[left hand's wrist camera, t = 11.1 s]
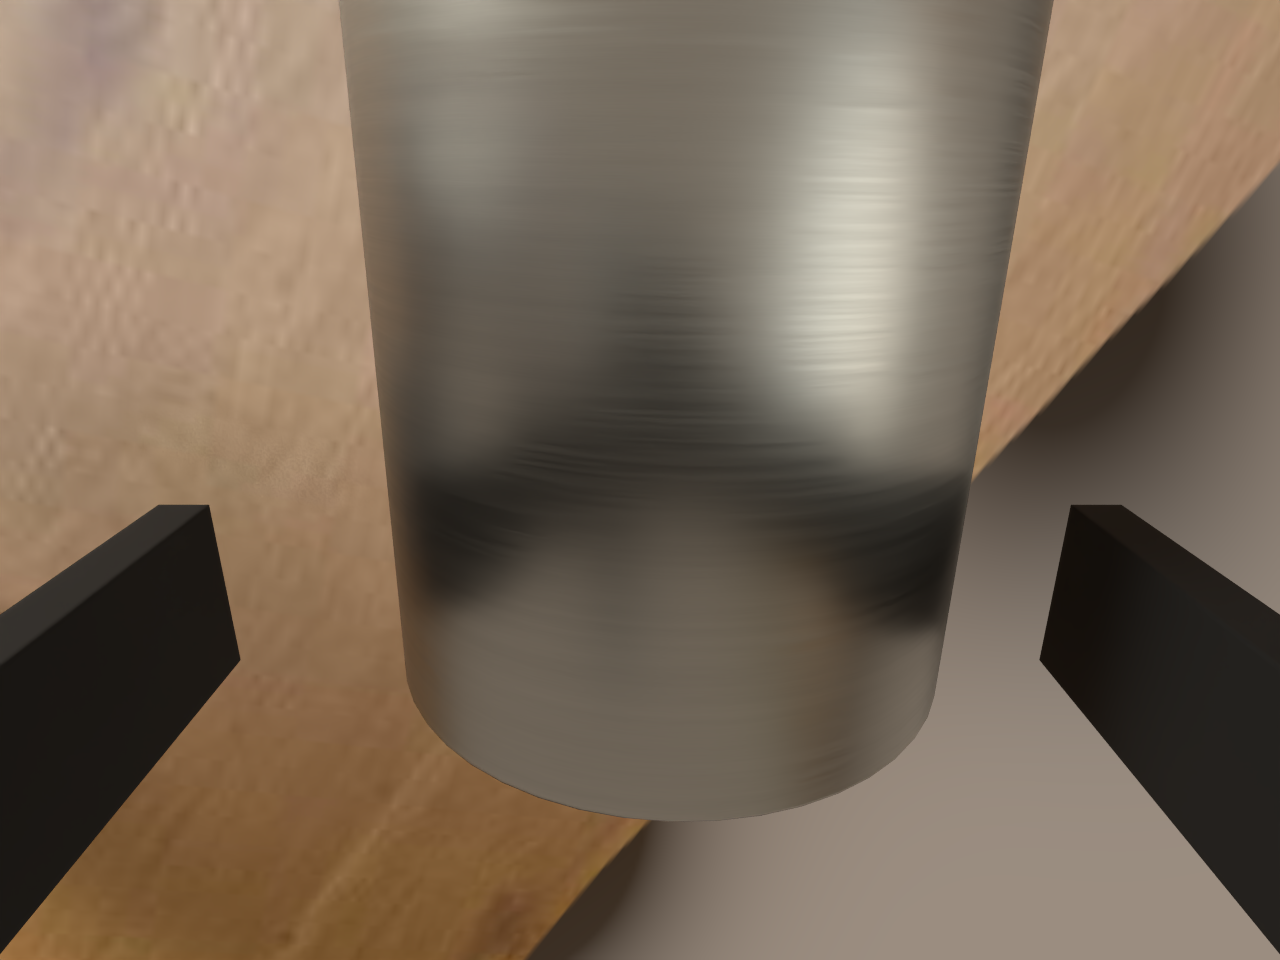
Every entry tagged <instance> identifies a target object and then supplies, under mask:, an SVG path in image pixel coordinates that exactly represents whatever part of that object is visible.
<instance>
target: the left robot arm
mask: <svg viewBox="0 0 1280 960" xmlns="http://www.w3.org/2000/svg"><path fill="white" fill-rule="evenodd" d="M239 661H240V655H239V650H238V645H237V640H236V635H235V630H234V626H233V621H232V616H231V611H230V606H229V601H228V596H227V591H226V586H225V581H224V576H223V571H222V567H221V562H220V557H219V552H218V547H217V542H216V537H215V532H214V527H213V522H212V517H211V512H210V508H209V505H158V506H156V507H155V508H153V509H152V510H151V511H149V512H148V513H146V514H145V515H143V516H142V517H140V518H139V519H138V520H136V521H135V522H133V523H132V524H130V525H129V526H127V527H126V528H125V529H123V530H122V531H120V532H119V533H117V534H116V535H114V536H113V537H112V538H110V539H109V540H107V541H106V542H104V543H103V544H102V545H100V546H99V547H97V548H96V549H94V550H93V551H91V552H90V553H89V554H87V555H86V556H84V557H83V558H81V559H80V560H78V561H77V562H76V563H74V564H73V565H71V566H70V567H68V568H67V569H65V570H64V571H63V572H61V573H60V574H58V575H57V576H55V577H54V578H52V579H51V580H50V581H48V582H47V583H45V584H44V585H42V586H41V587H39V588H38V589H37V590H35V591H34V592H32V593H31V594H29V595H28V596H26V597H25V598H24V599H22V600H21V601H19V602H18V603H16V604H15V605H13V606H12V607H11V608H9V609H8V610H6V611H5V612H3V613H2V614H1V615H0V954H1V952H2V951H3V950H4V949H5V947H6V946H7V945H8V944H9V943H10V941H11V940H12V939H13V938H14V936H15V935H16V934H17V933H18V932H19V930H20V929H21V928H22V927H23V925H24V924H25V923H26V922H27V921H28V919H29V918H30V917H31V916H32V914H33V913H34V912H35V911H36V910H37V908H38V907H39V906H40V905H41V903H42V902H43V901H44V900H45V899H46V897H47V896H48V895H49V894H50V892H51V891H52V890H53V889H54V888H55V886H56V885H57V884H58V883H59V881H60V880H61V879H62V878H63V877H64V875H65V874H66V873H67V872H68V870H69V869H70V868H71V867H72V866H73V864H74V863H75V862H76V861H77V859H78V858H79V857H80V856H81V855H82V853H83V852H84V851H85V850H86V848H87V847H88V846H89V845H90V844H91V842H92V841H93V840H94V839H95V837H96V836H97V835H98V834H99V833H100V831H101V830H102V829H103V828H104V826H105V825H106V824H107V823H108V821H109V820H110V819H111V818H112V817H113V815H114V814H115V813H116V812H117V810H118V809H119V808H120V807H121V806H122V804H123V803H124V802H125V801H126V799H127V798H128V797H129V796H130V795H131V793H132V792H133V791H134V790H135V788H136V787H137V786H138V785H139V784H140V782H141V781H142V780H143V779H144V777H145V776H146V775H147V774H148V773H149V771H150V770H151V769H152V768H153V766H154V765H155V764H156V763H157V762H158V760H159V759H160V758H161V757H162V755H163V754H164V753H165V752H166V751H167V749H168V748H169V747H170V746H171V744H172V743H173V742H174V741H175V740H176V738H177V737H178V736H179V735H180V733H181V732H182V731H183V730H184V729H185V727H186V726H187V725H188V724H189V722H190V721H191V720H192V719H193V718H194V716H195V715H196V714H197V713H198V711H199V710H200V709H201V708H202V706H203V705H204V704H205V703H206V702H207V700H208V699H209V698H210V697H211V695H212V694H213V693H214V692H215V691H216V689H217V688H218V687H219V686H220V684H221V683H222V682H223V681H224V680H225V678H226V677H227V676H228V675H229V673H230V672H231V671H232V670H233V669H234V667H235V666H236V665H237V664H238V662H239ZM1040 661H1041V662H1042V664H1043V665H1044V666H1045V667H1046V669H1047V670H1048V671H1049V672H1050V673H1051V675H1052V676H1053V677H1054V678H1055V680H1056V681H1057V682H1058V683H1059V684H1060V686H1061V687H1062V688H1063V689H1064V691H1065V692H1066V693H1067V694H1068V695H1069V697H1070V698H1071V699H1072V700H1073V702H1074V703H1075V704H1076V705H1077V707H1078V708H1079V709H1080V710H1081V711H1082V713H1083V714H1084V715H1085V716H1086V717H1087V719H1088V720H1089V721H1090V722H1091V724H1092V725H1093V726H1094V727H1095V728H1096V730H1097V731H1098V732H1099V733H1100V735H1101V736H1102V737H1103V738H1104V740H1105V741H1106V742H1107V743H1108V744H1109V746H1110V747H1111V748H1112V749H1113V751H1114V752H1115V753H1116V754H1117V755H1118V757H1119V758H1120V759H1121V760H1122V762H1123V763H1124V764H1125V765H1126V766H1127V768H1128V769H1129V770H1130V771H1131V773H1132V774H1133V775H1134V776H1135V777H1136V779H1137V780H1138V781H1139V782H1140V784H1141V785H1142V786H1143V787H1144V788H1145V790H1146V791H1147V792H1148V793H1149V795H1150V796H1151V797H1152V798H1153V799H1154V801H1155V802H1156V803H1157V804H1158V806H1159V807H1160V808H1161V809H1162V810H1163V812H1164V813H1165V814H1166V815H1167V817H1168V818H1169V819H1170V820H1171V821H1172V823H1173V824H1174V825H1175V826H1176V828H1177V829H1178V830H1179V831H1180V833H1181V834H1182V835H1183V836H1184V837H1185V839H1186V840H1187V841H1188V842H1189V843H1190V845H1191V846H1192V847H1193V848H1194V850H1195V851H1196V852H1197V853H1198V855H1199V856H1200V857H1201V858H1202V859H1203V861H1204V862H1205V863H1206V864H1207V866H1208V867H1209V868H1210V869H1211V870H1212V872H1213V873H1214V874H1215V875H1216V877H1217V878H1218V879H1219V880H1220V881H1221V883H1222V884H1223V885H1224V886H1225V888H1226V889H1227V890H1228V891H1229V892H1230V894H1231V895H1232V896H1233V897H1234V899H1235V900H1236V901H1237V902H1238V903H1239V905H1240V906H1241V907H1242V908H1243V910H1244V911H1245V912H1246V913H1247V914H1248V916H1249V917H1250V918H1251V919H1252V921H1253V922H1254V923H1255V924H1256V925H1257V927H1258V928H1259V929H1260V930H1261V932H1262V933H1263V934H1264V935H1265V936H1266V938H1267V939H1268V940H1269V941H1270V943H1271V944H1272V945H1273V946H1274V947H1275V949H1276V950H1277V951H1278V952H1279V954H1280V615H1279V614H1278V613H1277V612H1275V611H1274V610H1272V609H1271V608H1269V607H1268V606H1267V605H1265V604H1264V603H1262V602H1261V601H1259V600H1258V599H1256V598H1255V597H1254V596H1252V595H1251V594H1249V593H1248V592H1246V591H1245V590H1243V589H1242V588H1241V587H1239V586H1238V585H1236V584H1235V583H1233V582H1232V581H1230V580H1229V579H1228V578H1226V577H1225V576H1223V575H1222V574H1220V573H1219V572H1217V571H1216V570H1214V569H1213V568H1212V567H1210V566H1209V565H1207V564H1206V563H1204V562H1203V561H1202V560H1200V559H1199V558H1197V557H1196V556H1194V555H1193V554H1191V553H1190V552H1189V551H1187V550H1186V549H1184V548H1183V547H1181V546H1180V545H1178V544H1177V543H1176V542H1174V541H1173V540H1171V539H1170V538H1168V537H1167V536H1166V535H1164V534H1163V533H1161V532H1160V531H1158V530H1157V529H1155V528H1154V527H1153V526H1151V525H1150V524H1148V523H1147V522H1145V521H1144V520H1142V519H1141V518H1139V517H1138V516H1137V515H1135V514H1134V513H1132V512H1131V511H1129V510H1128V509H1127V508H1125V507H1124V506H1122V505H1071V508H1070V512H1069V517H1068V522H1067V527H1066V532H1065V537H1064V542H1063V547H1062V552H1061V557H1060V562H1059V567H1058V571H1057V576H1056V581H1055V586H1054V591H1053V596H1052V601H1051V606H1050V611H1049V616H1048V621H1047V626H1046V630H1045V635H1044V640H1043V645H1042V650H1041V655H1040Z"/></svg>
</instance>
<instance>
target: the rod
mask: <svg viewBox="0 0 1280 960" xmlns="http://www.w3.org/2000/svg"><path fill="white" fill-rule="evenodd" d="M1053 1H1054V0H339V7H340V17H341V27H342V37H343V47H344V57H345V67H346V77H347V87H348V97H349V107H350V117H351V127H352V137H353V147H354V157H355V167H356V177H357V187H358V197H359V207H360V217H361V227H362V237H363V247H364V257H365V267H366V277H367V287H368V297H369V307H370V317H371V327H372V337H373V347H374V357H375V367H376V377H377V387H378V397H379V407H380V417H381V427H382V437H383V447H384V457H385V467H386V477H387V487H388V497H389V506H390V516H391V526H392V536H393V546H394V556H395V566H396V576H397V586H398V596H399V606H400V616H401V626H402V636H403V646H404V656H405V666H406V676H407V682H408V685H409V689H410V692H411V695H412V698H413V701H414V703H415V704H416V706H417V708H418V709H419V711H420V713H421V714H422V716H423V718H424V719H425V721H426V723H427V724H428V725H429V727H430V728H431V729H432V730H433V731H434V732H435V733H436V734H437V735H438V736H439V738H440V739H441V740H442V741H443V742H444V743H445V744H446V745H447V746H448V747H449V748H451V749H452V750H453V751H454V752H456V753H457V754H458V755H460V756H461V757H462V758H463V759H465V760H466V761H467V762H469V763H470V764H471V765H473V766H474V767H476V768H478V769H480V770H481V771H483V772H485V773H487V774H488V775H490V776H492V777H494V778H495V779H497V780H499V781H501V782H502V783H505V784H507V785H509V786H512V787H514V788H517V789H519V790H521V791H524V792H526V793H529V794H531V795H533V796H536V797H538V798H541V799H545V800H548V801H552V802H555V803H559V804H562V805H565V806H569V807H572V808H576V809H579V810H584V811H590V812H595V813H601V814H606V815H612V816H617V817H623V818H633V819H646V820H658V821H718V820H727V819H736V818H744V817H752V816H761V815H765V814H770V813H774V812H779V811H783V810H788V809H792V808H797V807H801V806H804V805H807V804H810V803H812V802H815V801H818V800H821V799H824V798H827V797H830V796H832V795H835V794H838V793H840V792H842V791H844V790H846V789H848V788H850V787H852V786H854V785H856V784H858V783H860V782H862V781H864V780H866V779H868V778H870V777H871V776H872V775H874V774H875V773H876V772H878V771H879V770H881V769H882V768H883V767H885V766H886V765H887V764H889V763H890V762H892V761H893V760H894V759H895V758H896V757H897V756H898V755H899V754H900V753H901V752H902V751H903V750H904V749H905V748H906V747H907V746H908V745H909V744H910V743H911V742H912V741H913V739H914V738H915V737H916V735H917V734H918V732H919V730H920V729H921V727H922V725H923V724H924V722H925V720H926V719H927V717H928V714H929V711H930V708H931V705H932V701H933V698H934V694H935V688H936V682H937V676H938V671H939V665H940V659H941V653H942V647H943V641H944V635H945V630H946V624H947V618H948V612H949V607H950V601H951V595H952V589H953V583H954V577H955V572H956V566H957V560H958V554H959V548H960V543H961V537H962V531H963V525H964V519H965V513H966V507H967V502H968V496H969V490H970V484H971V478H972V473H973V467H974V461H975V455H976V449H977V443H978V438H979V432H980V426H981V420H982V414H983V409H984V403H985V397H986V391H987V385H988V379H989V374H990V368H991V362H992V356H993V350H994V344H995V339H996V333H997V327H998V321H999V315H1000V310H1001V304H1002V298H1003V292H1004V286H1005V280H1006V275H1007V269H1008V263H1009V257H1010V251H1011V245H1012V240H1013V234H1014V228H1015V222H1016V216H1017V211H1018V205H1019V199H1020V193H1021V187H1022V181H1023V176H1024V170H1025V164H1026V158H1027V152H1028V146H1029V141H1030V135H1031V129H1032V123H1033V117H1034V112H1035V106H1036V100H1037V94H1038V88H1039V82H1040V77H1041V71H1042V65H1043V59H1044V53H1045V47H1046V42H1047V36H1048V30H1049V24H1050V18H1051V13H1052V7H1053Z"/></svg>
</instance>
